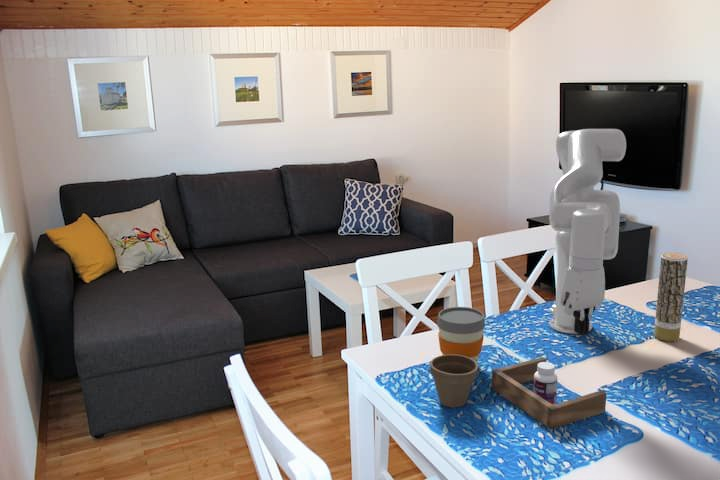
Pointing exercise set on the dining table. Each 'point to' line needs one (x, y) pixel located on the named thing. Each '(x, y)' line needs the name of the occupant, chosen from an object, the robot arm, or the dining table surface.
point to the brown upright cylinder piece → (670, 296)
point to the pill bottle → (546, 382)
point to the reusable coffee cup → (461, 331)
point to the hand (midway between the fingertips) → (581, 332)
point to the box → (546, 413)
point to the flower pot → (453, 378)
